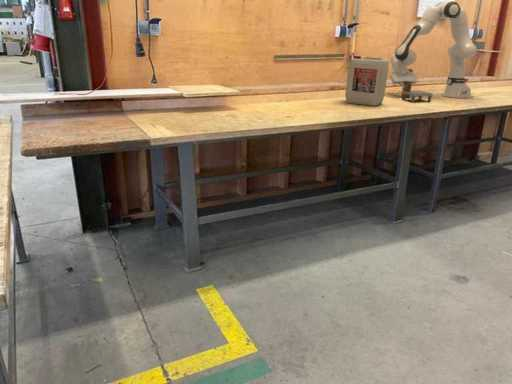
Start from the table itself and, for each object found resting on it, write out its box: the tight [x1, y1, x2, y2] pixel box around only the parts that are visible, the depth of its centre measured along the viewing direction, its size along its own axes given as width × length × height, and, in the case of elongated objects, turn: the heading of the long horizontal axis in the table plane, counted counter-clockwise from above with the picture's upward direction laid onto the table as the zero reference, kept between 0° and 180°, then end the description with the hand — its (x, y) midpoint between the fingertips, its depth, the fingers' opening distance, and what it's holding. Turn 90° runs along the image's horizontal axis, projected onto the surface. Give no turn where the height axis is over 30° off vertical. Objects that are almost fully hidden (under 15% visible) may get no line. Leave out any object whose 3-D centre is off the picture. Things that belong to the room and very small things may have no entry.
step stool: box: [401, 90, 434, 104], centre depth 295 cm, size 16×12×6 cm
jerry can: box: [344, 55, 390, 107], centre depth 276 cm, size 24×19×30 cm
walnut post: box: [401, 81, 413, 99], centre depth 305 cm, size 4×4×12 cm
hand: (407, 88), depth 304 cm, fingers closed on walnut post, 4 cm apart
